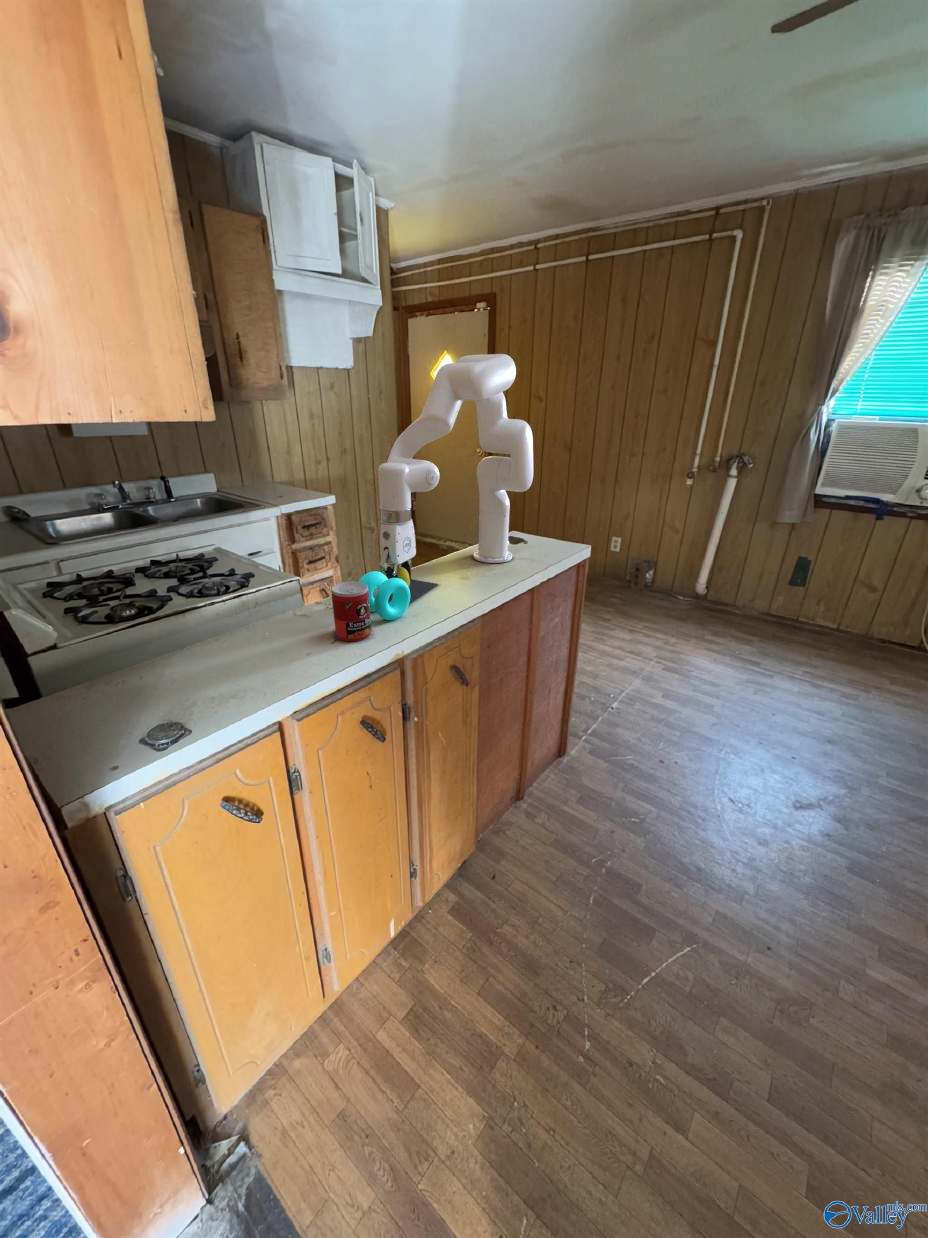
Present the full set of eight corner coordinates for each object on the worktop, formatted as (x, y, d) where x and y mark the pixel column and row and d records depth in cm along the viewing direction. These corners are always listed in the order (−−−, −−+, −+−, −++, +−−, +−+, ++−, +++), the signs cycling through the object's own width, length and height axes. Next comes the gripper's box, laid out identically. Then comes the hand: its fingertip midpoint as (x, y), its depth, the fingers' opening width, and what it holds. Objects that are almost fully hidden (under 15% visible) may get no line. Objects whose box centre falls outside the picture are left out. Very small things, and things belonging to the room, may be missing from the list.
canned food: (350, 645, 105) (345, 596, 101) (328, 634, 110) (323, 587, 106) (379, 634, 110) (375, 587, 106) (357, 623, 115) (353, 578, 111)
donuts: (385, 603, 127) (383, 565, 123) (413, 614, 121) (412, 574, 117) (354, 615, 120) (350, 575, 116) (381, 627, 114) (379, 585, 110)
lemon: (412, 591, 133) (411, 562, 130) (408, 599, 128) (406, 569, 125) (391, 590, 134) (390, 561, 131) (386, 598, 129) (385, 568, 126)
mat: (406, 579, 143) (406, 578, 143) (437, 585, 139) (437, 583, 139) (370, 600, 128) (370, 599, 128) (404, 607, 124) (404, 606, 124)
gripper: (390, 524, 114) (393, 598, 122) (426, 510, 128) (427, 577, 136) (362, 521, 117) (368, 593, 124) (401, 507, 131) (404, 573, 139)
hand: (399, 584), depth 130 cm, fingers closed on lemon, 5 cm apart
